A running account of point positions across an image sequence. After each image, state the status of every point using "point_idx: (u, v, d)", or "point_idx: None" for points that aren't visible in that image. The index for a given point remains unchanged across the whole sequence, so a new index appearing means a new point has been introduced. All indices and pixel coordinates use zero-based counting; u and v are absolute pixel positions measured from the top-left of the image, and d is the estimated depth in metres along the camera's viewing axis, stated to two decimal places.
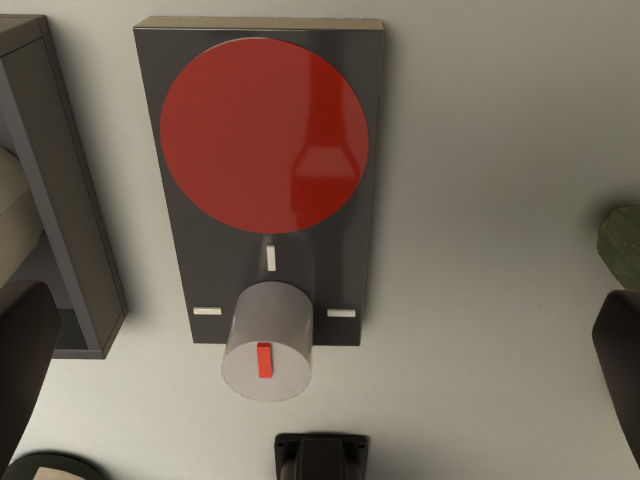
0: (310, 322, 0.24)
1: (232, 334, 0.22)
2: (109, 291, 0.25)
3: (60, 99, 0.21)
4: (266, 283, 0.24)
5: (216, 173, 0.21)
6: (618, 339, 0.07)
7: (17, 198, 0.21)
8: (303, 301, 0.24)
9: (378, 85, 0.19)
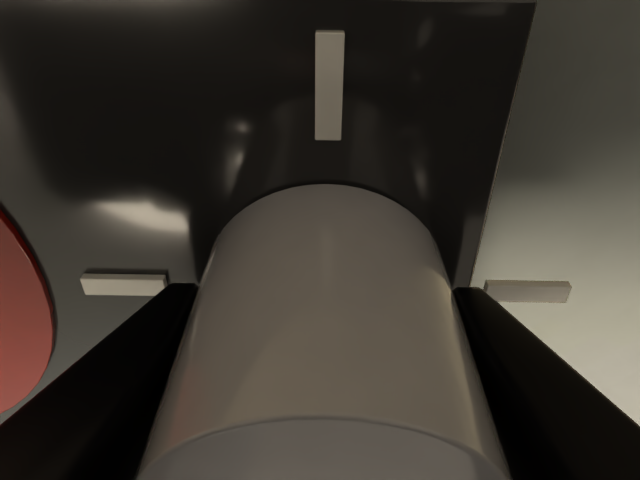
0: (272, 245, 0.06)
1: None
2: None
3: None
4: None
5: None
6: None
7: None
8: (236, 232, 0.07)
9: None
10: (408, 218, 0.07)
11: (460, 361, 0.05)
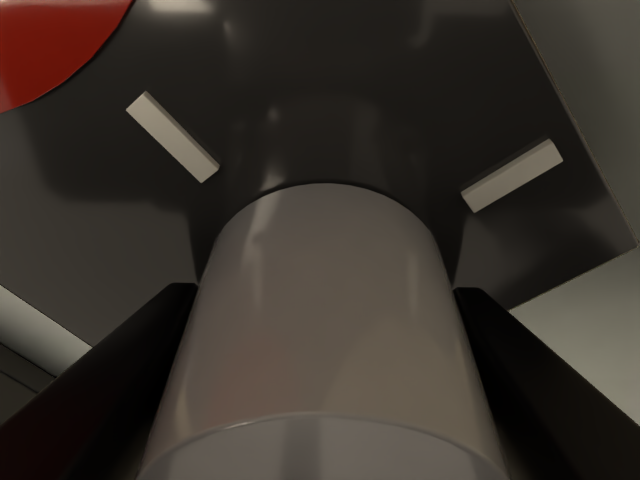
0: (277, 243, 0.06)
1: None
2: None
3: None
4: None
5: None
6: None
7: None
8: (239, 229, 0.07)
9: None
10: (411, 220, 0.07)
11: (463, 363, 0.05)
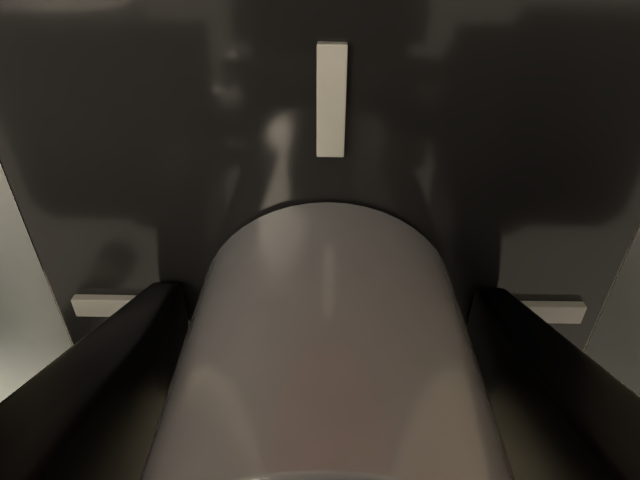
0: (270, 271, 0.06)
1: None
2: None
3: None
4: None
5: None
6: (480, 337, 0.07)
7: None
8: (232, 255, 0.07)
9: None
10: (414, 238, 0.07)
11: (473, 399, 0.05)
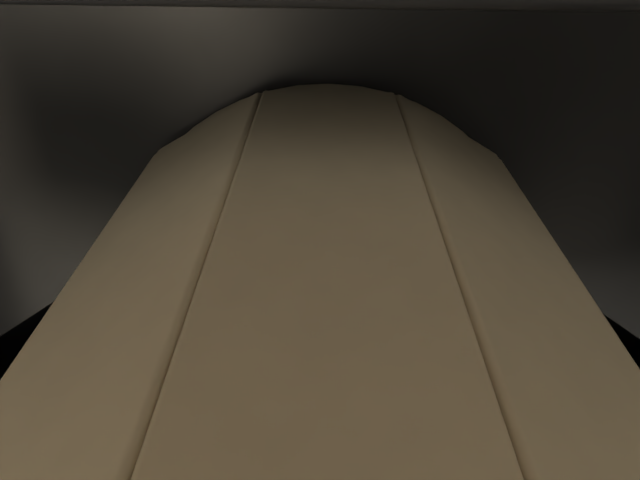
0: None
1: None
2: None
3: None
4: None
5: None
6: None
7: (244, 131, 0.06)
8: None
9: None
10: None
11: None
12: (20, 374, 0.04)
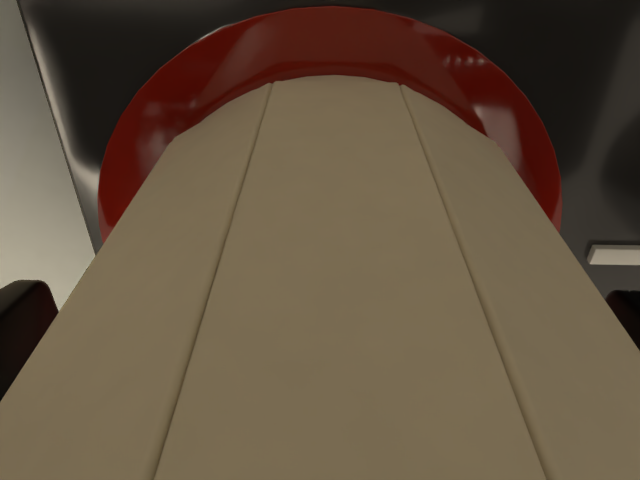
0: None
1: None
2: None
3: None
4: None
5: None
6: None
7: (258, 117, 0.06)
8: None
9: None
10: None
11: None
12: (62, 331, 0.04)
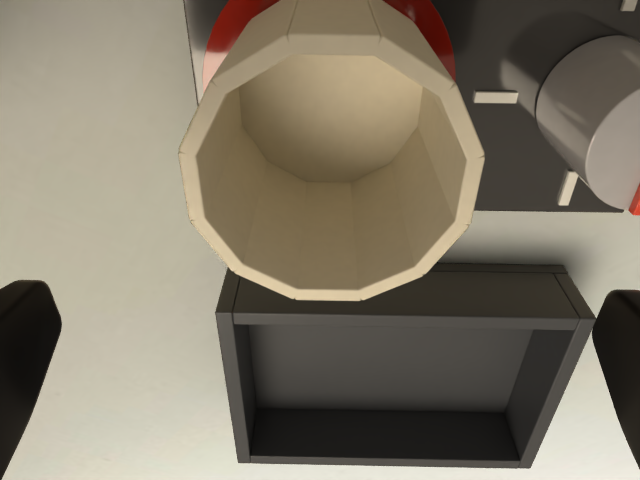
0: (551, 133, 0.16)
1: None
2: (514, 282, 0.22)
3: None
4: None
5: None
6: (618, 339, 0.07)
7: None
8: (548, 141, 0.17)
9: None
10: (562, 64, 0.16)
11: (610, 79, 0.13)
12: (235, 49, 0.11)
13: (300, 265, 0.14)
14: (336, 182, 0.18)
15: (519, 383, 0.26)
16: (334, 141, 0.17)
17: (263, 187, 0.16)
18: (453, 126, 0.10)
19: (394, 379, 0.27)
